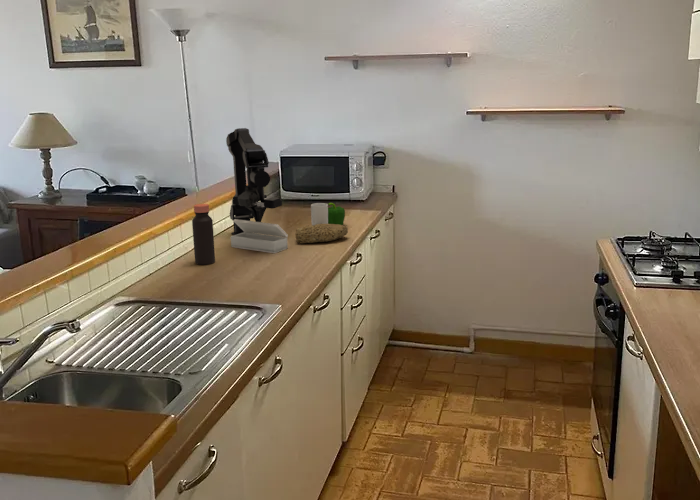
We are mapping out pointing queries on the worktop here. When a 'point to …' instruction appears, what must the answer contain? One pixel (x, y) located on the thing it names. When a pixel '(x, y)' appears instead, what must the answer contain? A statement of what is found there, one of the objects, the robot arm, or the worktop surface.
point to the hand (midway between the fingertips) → (258, 224)
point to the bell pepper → (336, 215)
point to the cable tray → (259, 242)
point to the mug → (319, 213)
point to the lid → (261, 228)
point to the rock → (320, 233)
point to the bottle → (203, 235)
